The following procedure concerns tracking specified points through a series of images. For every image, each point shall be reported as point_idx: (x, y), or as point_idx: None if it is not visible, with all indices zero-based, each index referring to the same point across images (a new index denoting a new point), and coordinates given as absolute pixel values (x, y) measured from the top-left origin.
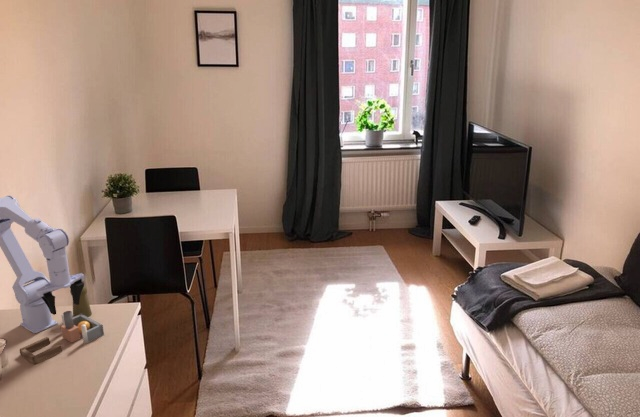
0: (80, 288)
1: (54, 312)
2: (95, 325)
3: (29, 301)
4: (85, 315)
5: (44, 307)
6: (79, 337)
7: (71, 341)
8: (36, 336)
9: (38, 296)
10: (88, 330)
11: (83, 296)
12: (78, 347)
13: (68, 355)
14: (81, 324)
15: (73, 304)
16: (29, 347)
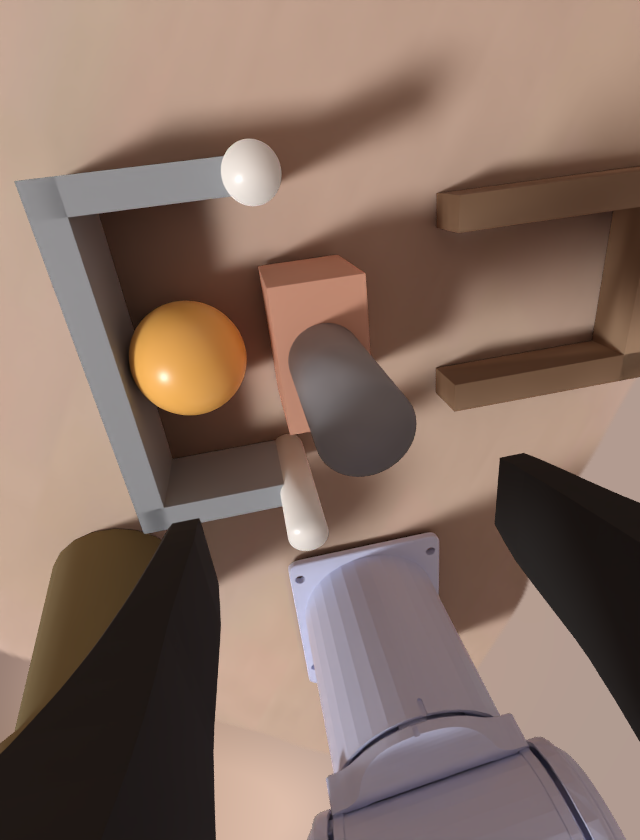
0: (24, 803)
1: (543, 464)
2: (91, 271)
3: (557, 770)
4: (108, 545)
5: (395, 685)
6: (266, 266)
7: (338, 256)
8: (440, 502)
9: (466, 813)
10: (196, 185)
11: None
12: (324, 142)
13: (440, 75)
14: (211, 355)
15: None
16: (591, 358)
